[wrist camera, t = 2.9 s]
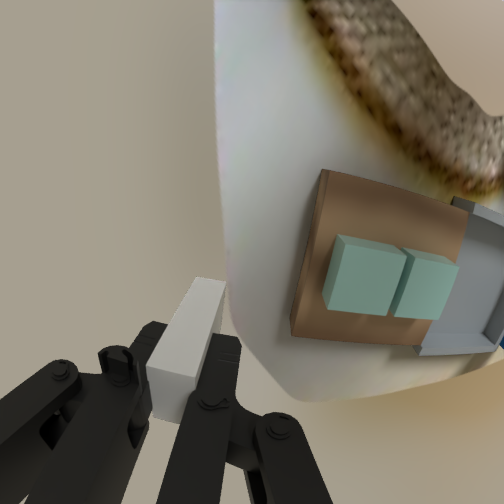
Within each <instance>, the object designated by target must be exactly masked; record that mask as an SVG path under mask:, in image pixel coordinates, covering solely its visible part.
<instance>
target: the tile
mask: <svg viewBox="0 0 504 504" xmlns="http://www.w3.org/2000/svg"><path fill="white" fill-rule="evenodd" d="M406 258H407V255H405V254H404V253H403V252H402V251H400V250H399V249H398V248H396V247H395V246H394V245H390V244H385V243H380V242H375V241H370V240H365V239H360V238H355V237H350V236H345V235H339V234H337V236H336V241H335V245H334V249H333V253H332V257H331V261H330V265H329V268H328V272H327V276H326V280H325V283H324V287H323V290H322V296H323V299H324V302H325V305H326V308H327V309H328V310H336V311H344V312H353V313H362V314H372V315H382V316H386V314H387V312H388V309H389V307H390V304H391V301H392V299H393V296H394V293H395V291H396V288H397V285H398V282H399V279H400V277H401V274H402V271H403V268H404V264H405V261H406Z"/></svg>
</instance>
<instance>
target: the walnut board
mask: <svg viewBox="0 0 504 504" xmlns="http://www.w3.org/2000/svg"><path fill="white" fill-rule="evenodd" d="M469 214H470V212H468V211H465V210H462V209H460V208H457V207H454V206H452V205H449V204H446V203H443V202H441V201H438V200H435V199H432V198H429V197H426V196H423V195H420V194H417V193H413V192H410V191H407V190H404V189H400V188H397V187H394V186H390V185H387V184H383V183H379V182H376V181H372V180H368V179H364V178H360V177H356V176H352V175H348V174H344V173H340V172H335V171H331V170H325V169H322V172H321V178H320V183H319V189H318V194H317V199H316V204H315V209H314V214H313V219H312V224H311V229H310V234H309V238H308V243H307V247H306V252H305V256H304V261H303V265H302V269H301V274H300V278H299V282H298V286H297V290H296V294H295V299H294V303H293V306H292V310H291V314H290V326H291V336H295V337H304V338H313V339H323V340H333V341H345V342H358V343H373V344H394V345H421V344H422V342H423V340H424V338H425V336H426V334H427V332H428V330H429V327H430V325H431V323H432V321H433V320H430V319H416V318H404V317H394V316H393V314H392V313H391V312H390V310H389V309H388V312H387V314H386V316H382V315H372V314H362V313H353V312H344V311H336V310H328V309H327V308H326V305H325V302H324V299H323V296H322V290H323V287H324V283H325V280H326V276H327V272H328V268H329V265H330V261H331V257H332V253H333V249H334V245H335V241H336V236H337V234H339V235H345V236H350V237H355V238H360V239H365V240H370V241H375V242H380V243H385V244H390V245H394V246H395V247H396V248H398V249H399V250H400V251H401V248H402V247H404V248H409V249H413V250H418V251H422V252H427V253H431V254H436V255H440V256H444V257H446V258H447V259H449V260H450V261H452V262H453V263H456V260H457V257H458V254H459V251H460V247H461V244H462V241H463V237H464V233H465V230H466V226H467V222H468V218H469Z"/></svg>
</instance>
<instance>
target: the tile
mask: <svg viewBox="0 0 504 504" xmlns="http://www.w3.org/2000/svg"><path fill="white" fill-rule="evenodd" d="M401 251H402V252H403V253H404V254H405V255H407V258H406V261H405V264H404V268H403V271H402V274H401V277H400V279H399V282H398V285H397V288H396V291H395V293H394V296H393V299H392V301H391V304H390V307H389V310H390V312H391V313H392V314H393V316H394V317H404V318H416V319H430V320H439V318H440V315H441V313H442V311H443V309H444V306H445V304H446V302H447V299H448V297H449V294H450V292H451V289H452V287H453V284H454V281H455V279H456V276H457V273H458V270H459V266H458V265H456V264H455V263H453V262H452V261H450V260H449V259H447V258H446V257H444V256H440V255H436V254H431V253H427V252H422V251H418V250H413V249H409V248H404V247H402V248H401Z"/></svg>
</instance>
